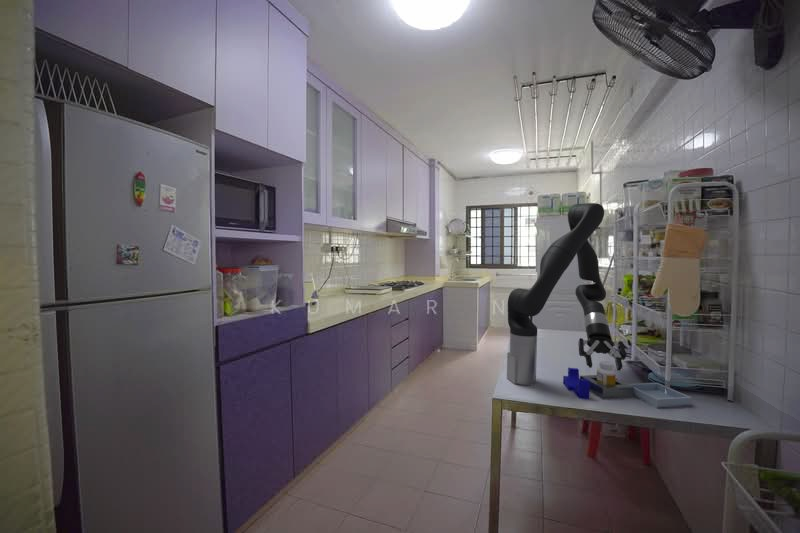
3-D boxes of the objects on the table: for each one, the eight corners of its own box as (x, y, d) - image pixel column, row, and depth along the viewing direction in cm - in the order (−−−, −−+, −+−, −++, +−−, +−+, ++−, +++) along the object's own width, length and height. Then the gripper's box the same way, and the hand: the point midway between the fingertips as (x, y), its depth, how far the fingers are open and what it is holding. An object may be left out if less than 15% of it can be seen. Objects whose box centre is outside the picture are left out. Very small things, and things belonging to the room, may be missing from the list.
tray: (656, 408, 101) (657, 399, 101) (625, 391, 113) (625, 384, 113) (691, 406, 103) (692, 397, 103) (656, 390, 115) (657, 382, 115)
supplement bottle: (616, 391, 114) (617, 362, 113) (613, 396, 110) (614, 366, 109) (597, 386, 117) (598, 359, 117) (594, 391, 113) (595, 363, 113)
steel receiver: (602, 399, 107) (602, 388, 107) (579, 385, 118) (580, 375, 118) (633, 397, 109) (633, 386, 109) (608, 384, 120) (608, 374, 120)
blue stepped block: (563, 384, 120) (563, 367, 120) (576, 385, 119) (577, 368, 119) (574, 398, 108) (574, 379, 108) (589, 399, 107) (589, 381, 107)
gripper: (577, 320, 124) (583, 360, 114) (621, 323, 120) (632, 365, 110) (574, 331, 130) (579, 370, 119) (616, 334, 126) (626, 375, 115)
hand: (604, 368), depth 115 cm, fingers open, 8 cm apart
